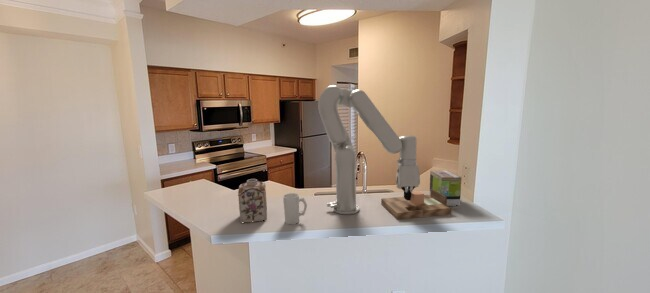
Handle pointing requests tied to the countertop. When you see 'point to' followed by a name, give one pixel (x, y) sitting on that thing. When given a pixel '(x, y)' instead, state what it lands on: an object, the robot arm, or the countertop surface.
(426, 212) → the board
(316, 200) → the countertop surface
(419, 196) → the block
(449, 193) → the tea box
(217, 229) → the countertop surface
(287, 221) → the mug
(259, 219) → the decorative jar
